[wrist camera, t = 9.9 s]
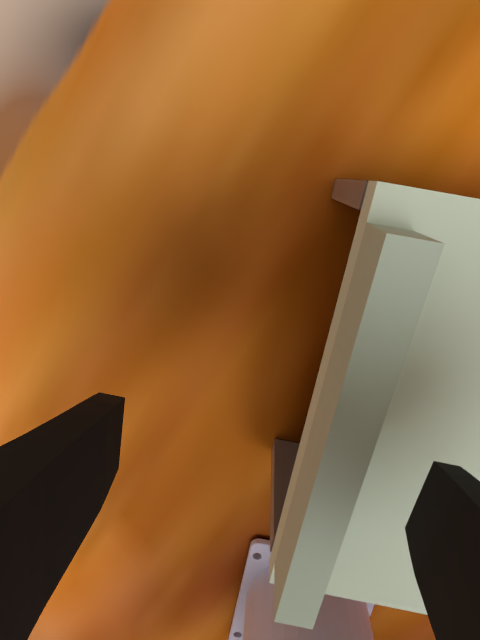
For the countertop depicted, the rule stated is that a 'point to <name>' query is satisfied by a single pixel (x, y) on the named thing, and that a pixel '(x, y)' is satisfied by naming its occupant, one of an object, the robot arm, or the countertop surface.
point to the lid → (384, 404)
